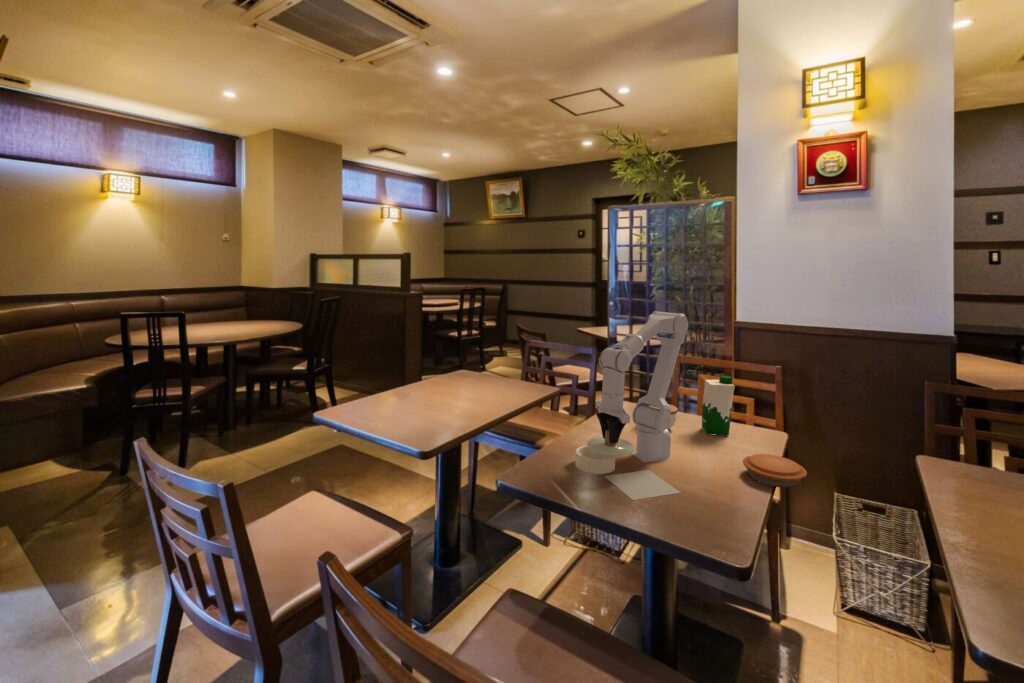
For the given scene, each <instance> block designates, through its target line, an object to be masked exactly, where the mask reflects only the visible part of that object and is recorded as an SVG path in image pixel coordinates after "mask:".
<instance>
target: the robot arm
mask: <svg viewBox="0 0 1024 683" xmlns="http://www.w3.org/2000/svg"><path fill="white" fill-rule="evenodd" d="M688 329H689V322H688V317H687V316H686V315H685V313H675V312H665V311H659V310H654V311H653V312H652V313H651V314H649V315H648V318H647V321H646V322H645V324H643V326H642V327H640V328H639V329H638V331H637V332H636V333H626V335H625V337H623V338H622V339H621V340H619V341H618V342H617V343H615V345H614V346H612V347H606V348H605V349H603V350H602V351H601V353H600V356H599V358H598V364H599V366H600V368H601V374H602V387H601V388H602V389H601V400H596V401H595V409H597V412H596V418H597V420H598V423H599V425H600V429H601V435H602V437H603V438H604V439H605V430H606V429H609V440H610V443H611V444H613V443H618V440H619V438H621V435H622V432H623V430H624V428H625V426H626V425H627V424H630V422H631V421H630V420H631V418H632V422H633V423H634V424H635V428H637V432H636V433H637V434H636V448H635V449H636V450H635V451H634V450H633V452H632V453H630V454H631V455H632V456H634V457H636V458H637V459H639V460H640V461H642V462H643V463H652V462H659V461H665V460H666V461H667V460H671V459H672V457H670V456H671V447H672V446H671V444H672V437H671V433H670V431H669V430H667V428H668V426H669V423H670V412H671V408H670V406H669V405H668V402H667V401H666V396H667V393H668V391H669V387H670V383H671V379H672V377H673V376H672V375H673V373H674V369H675V366H676V362H677V359H678V356H679V353H680V349H681V346H682V344H684V342H685V339H686V336H687V332H688ZM653 338H655V339H656V340H657V341H659V342H660V345H661V347H660V350H659V353H658V357H657V360H656V363H655V367H654V369H653V372H652V373H653V374H652V377H651V381H650V384H649V388H648V391H647V394H646V395H643V396H642V397H640V398H638V400H637V403H636V404H635V407H634V408H633V410H632V413H631V416H630V415H629V414H628V413H627V411H626V410H625V409H624V394H625V379H626V378H625V376H626V371H628V369H629V367H630V365H631V364H632V362H633V359H634V358H635V357H636V356H637V355H639V354H640V352H642V351H643V350H644V348H645V345H644V344H645V343H646V342H648V341H649V340H651V339H653ZM649 406H654V407H658V408H659V409H656V408H653V407H649Z"/></svg>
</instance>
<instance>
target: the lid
mask: <svg viewBox="0 0 1024 683" xmlns="http://www.w3.org/2000/svg"><path fill="white" fill-rule="evenodd" d="M586 445H587V446H588V448H589V449H590V450H591V451H593V452H596V453H598V454H602V455H608V456H616V457H621V456H622V457H623V456H627V455H628V456H629V455H630V454H631V453H632V452H633V453H634V444H632V443H631V442H630V441H629V440H626V439H623V438H621V437H619V440H618V443H613V444H611V443H610V440H609V429H606V430H605V439H604V438H603V436H596V437H592V438H590V439H588V440H587V444H586Z"/></svg>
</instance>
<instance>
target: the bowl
mask: <svg viewBox="0 0 1024 683" xmlns="http://www.w3.org/2000/svg"><path fill="white" fill-rule="evenodd" d="M616 457H617V456H608V455H602V454H598V453H596V452H593V451H591V450H590V449H589V448H588V446H587V444H586V445H581V446H579V447H577V448H576V449H575V464H574V465H575V467H576V469H578V470H579V471H582V472H583V473H584V472H586V473H588V474H594V475H603V474H610V473H612V472H614V471H615V470H616Z"/></svg>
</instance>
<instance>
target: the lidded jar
mask: <svg viewBox="0 0 1024 683" xmlns="http://www.w3.org/2000/svg"><path fill="white" fill-rule="evenodd" d="M668 405H669V406H670V408H671V412H670V423H669V426H668V428H667V430H668V429H669V430H670V429H671V428H672V427H674V425H675V423H676V422H677V417H678V410H679V409H678V407H677V406H675V405H673V404H668ZM649 407H653V408H656V409H659V408H658V407H654V406H649ZM669 430H668V431H669Z"/></svg>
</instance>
